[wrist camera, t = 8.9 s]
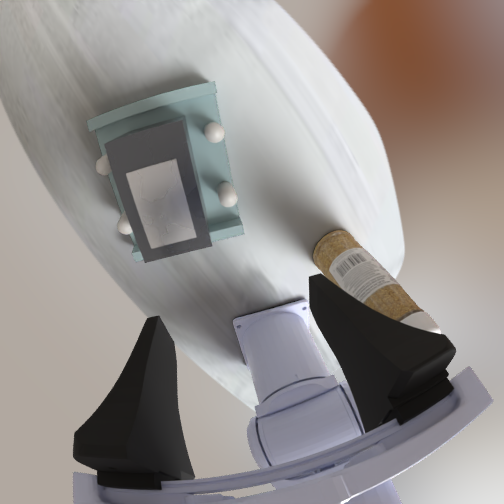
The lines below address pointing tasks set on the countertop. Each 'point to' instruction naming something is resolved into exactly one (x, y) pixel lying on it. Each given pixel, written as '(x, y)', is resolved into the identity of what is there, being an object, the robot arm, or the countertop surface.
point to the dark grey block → (160, 189)
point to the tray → (203, 145)
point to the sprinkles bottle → (367, 280)
